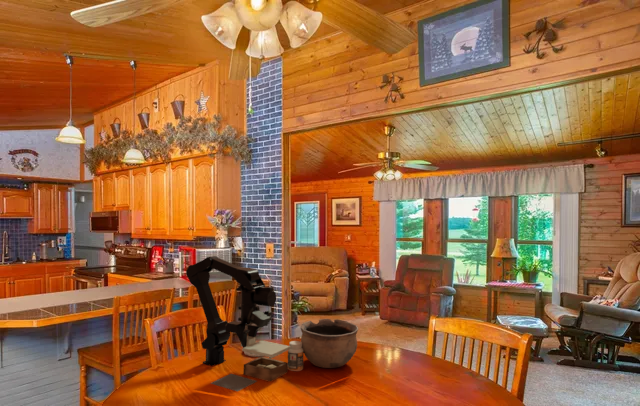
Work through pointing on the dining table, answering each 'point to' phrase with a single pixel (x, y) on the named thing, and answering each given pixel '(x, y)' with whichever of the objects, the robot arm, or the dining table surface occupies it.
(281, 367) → the tub
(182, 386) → the dining table surface
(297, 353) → the pill bottle
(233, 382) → the mat
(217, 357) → the robot arm
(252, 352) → the lid
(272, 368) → the block
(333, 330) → the ceramic bowl
